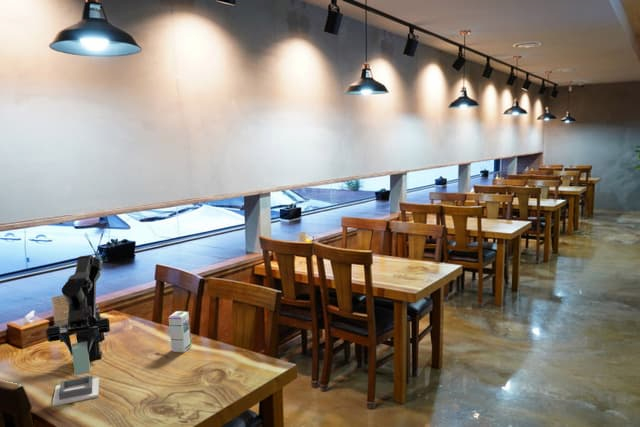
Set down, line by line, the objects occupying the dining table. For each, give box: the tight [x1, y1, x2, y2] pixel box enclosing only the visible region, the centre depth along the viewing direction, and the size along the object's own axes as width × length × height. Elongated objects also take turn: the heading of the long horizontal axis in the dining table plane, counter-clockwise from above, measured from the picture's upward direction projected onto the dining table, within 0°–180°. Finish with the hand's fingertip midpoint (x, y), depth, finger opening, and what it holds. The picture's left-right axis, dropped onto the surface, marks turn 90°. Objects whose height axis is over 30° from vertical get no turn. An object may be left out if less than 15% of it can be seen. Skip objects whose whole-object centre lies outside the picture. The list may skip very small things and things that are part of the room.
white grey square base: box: [52, 374, 100, 407], centre depth 162 cm, size 13×13×3 cm
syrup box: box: [168, 310, 192, 353], centre depth 193 cm, size 6×6×14 cm
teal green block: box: [71, 342, 91, 376], centre depth 161 cm, size 4×4×9 cm
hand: (80, 353), depth 159 cm, fingers closed on teal green block, 4 cm apart
